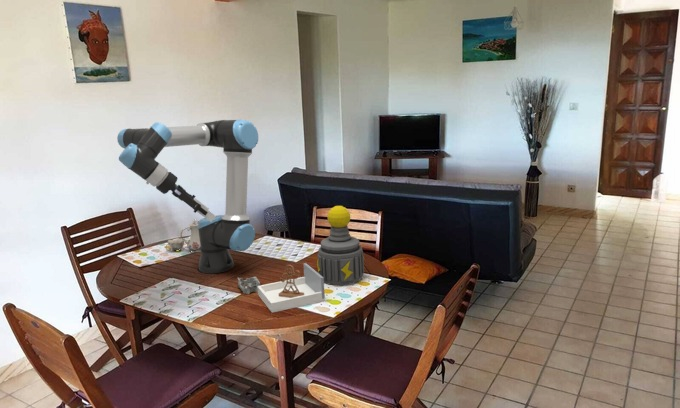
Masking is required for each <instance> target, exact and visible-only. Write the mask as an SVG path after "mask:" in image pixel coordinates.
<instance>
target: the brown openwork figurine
mask: <svg viewBox="0 0 680 408" xmlns="http://www.w3.org/2000/svg"><path fill="white" fill-rule="evenodd" d="M284 275H287V277H286V276H285V278H284V277H283V276H284ZM295 275H297V277H293V276H295ZM288 277H289V279H288ZM292 277H293V278H292ZM300 277H301V271H300V270H298V269H297V270H295V267H294V266H293V265H291V264H287V265H286V266H285V267H284V273H282V274H281V276H280V279H279V280H280V281H282V282H284V281H285V280H286V281H287V284H293V285H294V286H295V288H296V290H295V291H294V289H293V288H292V286H290V288H291V289H292V290H293V291H289V290H290V288H289V289H288V290H287V289H286V286H287V284H286V286H285V288H284V290H283V291H282V292H280V293H279V296H280V297H288V298H293V297H298V296H302V295H304V293H303V292H299V290H298V289H297V287H296V285H295V281H294V279H297V278H300ZM291 279H293V282H291V281H292V280H291ZM288 280H290V282H288ZM297 291H298V292H297Z"/></svg>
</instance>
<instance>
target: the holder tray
mask: <svg viewBox="0 0 680 408" xmlns="http://www.w3.org/2000/svg"><path fill="white" fill-rule="evenodd" d="M296 278H297V277H296ZM291 280H292V281H291V282H293V278H291ZM283 281H284V280H283ZM294 281H295V285H296V287H297V289H298V290H299V292H303V293H304V295H302V296H298V297H293V298H288V297H280V296H279V293H280V292H282V291H283V290H284V288H285V286H286V284H287V281H286V280H285V281H284V282H282V281H281V280H280V281H276V282H271V283H265V284H262V285H261V284H260V286H257V289H258V292H257V296H258V297H259V298H260V300H261V301H262V302H263V304H264V305H265V306H266V307H267V309H268V310H269V311H270V312H271V313H277V312H282V311H285V310H290V309H291V310H292V309H295V308H299V307H304V306H309V305H313V304H317V303H321V302H325V301H326V297H325V283H324V277H322V276H321V275H320V274H319V273H318V271H316V270H315V269H314V268H313V267H311V266H310V265H309V264H307V262H305V263H303V276H302V277H301V276H299V277H298V278H297V279H294ZM288 282H290V279H288ZM290 286H292V288H293V289H294V291H295V290H296V288H295V286H294V285H293V284H287V286H286V289H287V290H288V289H289V288H290ZM289 291H293V290H292V289H291V288H290V290H289ZM297 292H298V291H297Z"/></svg>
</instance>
